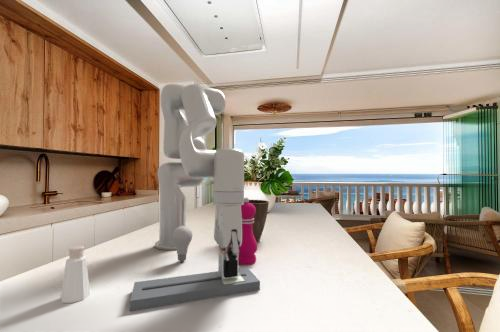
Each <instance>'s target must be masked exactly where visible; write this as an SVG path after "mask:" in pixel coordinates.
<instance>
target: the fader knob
mask: <svg viewBox="0 0 500 332" xmlns="http://www.w3.org/2000/svg"><path fill="white" fill-rule="evenodd" d="M229 246H232V245H228V247H229ZM231 250H232V249H230V250H228V251H229V252H230V251H231ZM224 260H226V259H225V248H224V249H222V248H221V247H220V246H219V245H218V269H217V270H218V273H219V275H220V277H221V279H222V280H224V279H231V278H238V275H237V276H235V277H228V278H225V277H224Z"/></svg>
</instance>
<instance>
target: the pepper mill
mask: <svg viewBox="0 0 500 332" xmlns="http://www.w3.org/2000/svg"><path fill="white" fill-rule="evenodd" d="M249 200H250V198H248V197H244V205H241V213H242V244H241V246H240V247H239V253H238V265H245V266H246V265H247V266H248V265H253V264H255V263H256V262H257V255H256V253H257V251H258V241H257V242H256V239H255V237H254V234H253V230H252V226H253V223H254V218H253V216H254V215H255V213H256V209H255V206H254V205H253V204H251V203H248V202H249Z"/></svg>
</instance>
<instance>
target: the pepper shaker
mask: <svg viewBox="0 0 500 332" xmlns="http://www.w3.org/2000/svg"><path fill="white" fill-rule="evenodd" d="M84 250H85V246H83V245H74V246H71V247H69V249H68V251H69V253H68V256H69V257H68V258H67V259H66V261H65V265H64V266H65V267H64V271H63V272H64V273H63V280H62V286H61V293H60V298H59V299H60V301H61V303H62V304H73V303H77V302H80V301H84V300H85V299H86V298H87V297H88V296H90V295H91V293H90V283H89V271H88V262H87V257H86V256H85V255H84V253H85V252H84Z"/></svg>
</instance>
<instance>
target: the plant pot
mask: <svg viewBox="0 0 500 332" xmlns="http://www.w3.org/2000/svg"><path fill="white" fill-rule="evenodd" d="M269 202H270V201H269V200H262V199H249V202H248V203H251V204H253V205H254V206H255V209H256V213H255V215H254V216H253V218H254V223H253V226H252V230H253V234H254V237H255V239H256V242H257V243H258V242H260V240H261V237H262V236H263V232H264V228H265V225H266V220H267V216H268V210H269V205H270V203H269Z"/></svg>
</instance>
